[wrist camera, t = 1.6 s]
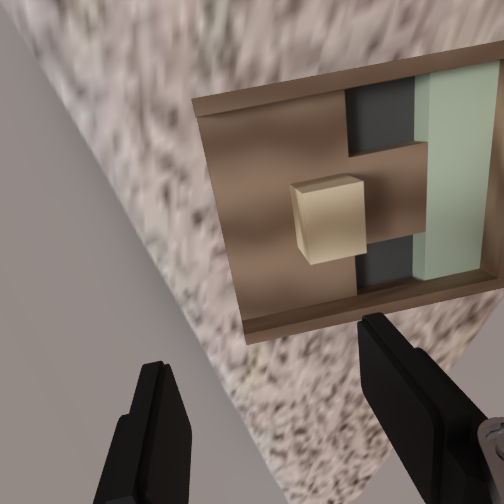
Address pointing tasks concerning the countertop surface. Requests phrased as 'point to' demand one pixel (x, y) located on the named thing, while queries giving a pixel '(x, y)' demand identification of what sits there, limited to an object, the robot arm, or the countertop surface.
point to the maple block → (329, 217)
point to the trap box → (375, 186)
